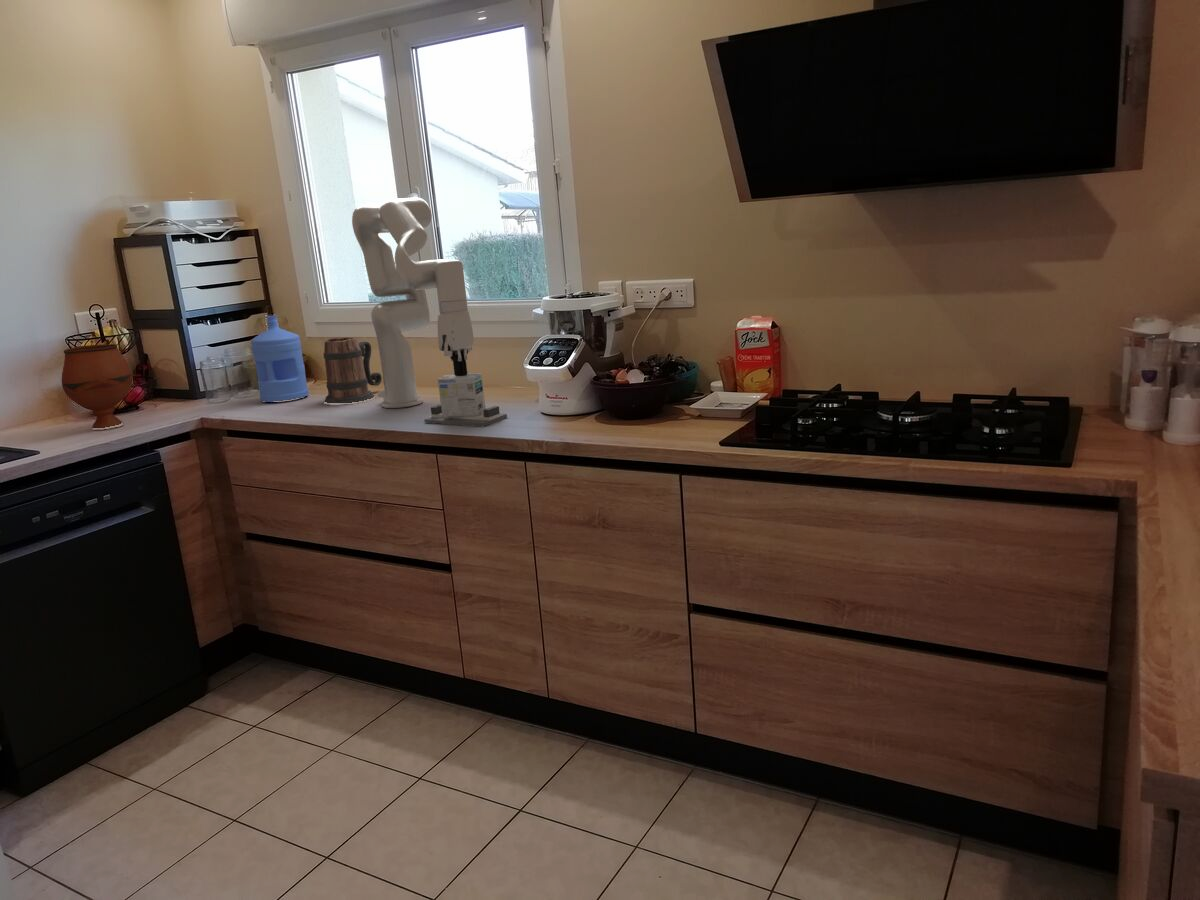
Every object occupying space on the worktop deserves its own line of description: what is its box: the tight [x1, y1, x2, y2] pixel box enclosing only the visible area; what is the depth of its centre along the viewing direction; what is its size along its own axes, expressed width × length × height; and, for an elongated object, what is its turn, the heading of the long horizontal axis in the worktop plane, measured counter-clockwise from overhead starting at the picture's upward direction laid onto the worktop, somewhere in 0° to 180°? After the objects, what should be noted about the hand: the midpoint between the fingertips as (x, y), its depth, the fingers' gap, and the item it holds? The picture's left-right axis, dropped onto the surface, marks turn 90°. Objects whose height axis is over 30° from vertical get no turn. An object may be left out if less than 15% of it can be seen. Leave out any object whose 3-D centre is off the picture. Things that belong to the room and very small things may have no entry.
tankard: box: [323, 337, 383, 403], centre depth 283 cm, size 24×17×20 cm
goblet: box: [61, 343, 134, 429], centre depth 263 cm, size 19×19×25 cm
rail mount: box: [424, 403, 508, 427], centre depth 238 cm, size 20×11×4 cm, turn 61°
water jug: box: [250, 315, 310, 402], centre depth 290 cm, size 16×16×28 cm
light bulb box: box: [437, 372, 486, 417], centre depth 237 cm, size 11×7×11 cm, turn 80°
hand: (461, 375), depth 236 cm, fingers closed
